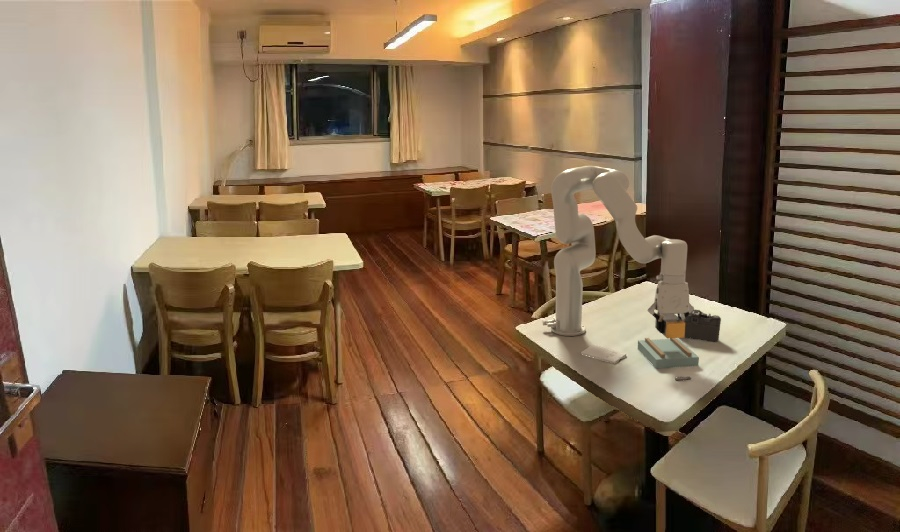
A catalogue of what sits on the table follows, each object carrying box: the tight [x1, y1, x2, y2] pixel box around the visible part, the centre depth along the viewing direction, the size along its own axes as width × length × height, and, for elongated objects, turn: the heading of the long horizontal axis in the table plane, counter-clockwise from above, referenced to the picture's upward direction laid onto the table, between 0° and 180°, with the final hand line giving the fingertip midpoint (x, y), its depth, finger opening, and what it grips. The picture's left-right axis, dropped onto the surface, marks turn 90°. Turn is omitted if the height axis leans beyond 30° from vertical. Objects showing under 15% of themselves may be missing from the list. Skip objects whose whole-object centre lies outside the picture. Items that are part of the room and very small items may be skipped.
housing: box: [654, 312, 685, 339], centre depth 208 cm, size 10×6×5 cm, turn 5°
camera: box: [683, 309, 722, 343], centre depth 227 cm, size 14×11×10 cm
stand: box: [637, 337, 700, 369], centre depth 211 cm, size 14×16×4 cm
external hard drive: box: [580, 344, 627, 365], centre depth 214 cm, size 2×8×12 cm
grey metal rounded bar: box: [674, 375, 693, 382], centre depth 195 cm, size 5×1×1 cm, turn 94°
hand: (669, 330), depth 209 cm, fingers closed on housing, 5 cm apart
